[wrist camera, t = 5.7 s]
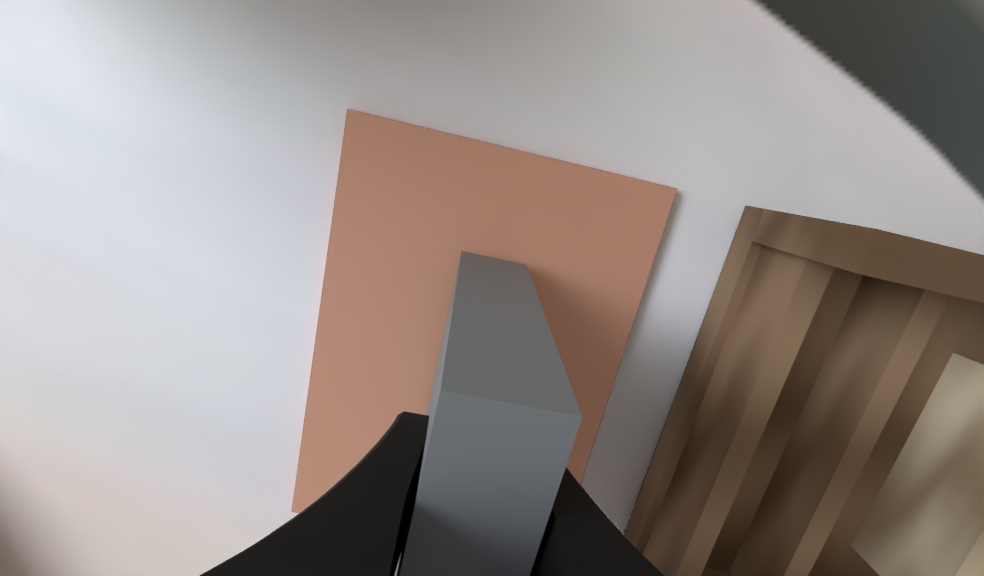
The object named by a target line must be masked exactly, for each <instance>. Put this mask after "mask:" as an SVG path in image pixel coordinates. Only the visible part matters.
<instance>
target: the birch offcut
mask: <svg viewBox="0 0 984 576" xmlns="http://www.w3.org/2000/svg"><path fill="white" fill-rule="evenodd" d="M851 547H852V548H853V549H854V550H855V551H856V552H857V553H858V554H859V555H860V556H861V557H862V558H863V559H864V560H865V561H866V562H867V563H868V564H869V565H870V566H871V567H872V568H873V569H874V570H875V571H876V573H877V574H878V575H879V576H984V359H981V358H976V357H971V356H967V355H962V354H958V353H953V354H952V356H951V358H950V360H949V362H948V363H947V365H946V367H945V369H944V371H943V373H942V375H941V377H940V379H939V380H938V382H937V384H936V386H935V388H934V390H933V392H932V394H931V396H930V397H929V399H928V401H927V403H926V405H925V407H924V409H923V411H922V413H921V414H920V416H919V418H918V420H917V422H916V424H915V426H914V428H913V430H912V431H911V433H910V435H909V437H908V439H907V441H906V443H905V445H904V447H903V448H902V450H901V452H900V454H899V456H898V458H897V460H896V462H895V464H894V465H893V467H892V469H891V471H890V473H889V475H888V477H887V479H886V481H885V482H884V484H883V486H882V488H881V490H880V492H879V494H878V496H877V498H876V499H875V501H874V503H873V505H872V507H871V509H870V511H869V513H868V515H867V517H866V518H865V520H864V522H863V524H862V526H861V528H860V530H859V532H858V534H857V535H856V537H855V539H854V541H853V543H852V545H851Z"/></svg>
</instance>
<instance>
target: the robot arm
mask: <svg viewBox="0 0 984 576" xmlns="http://www.w3.org/2000/svg"><path fill="white" fill-rule="evenodd" d="M428 421H429V416H427V415H422V414H416V413H411V412H405V411H403V412H402V413H400V414H398V415H397V417H396V419H395V421H394V422H393V423H392V425H391V426H390V428H389V429H388V430H387V432H386V433H385V434H384V435H383V436H382V438H381V439H380V440H379V441H378V442H377V443H376V445H375V446H374V447H373V448H372V449H371V450H370V451H369V452H368V453H367V454H366V455H365V456H364V457H363V459H362V460H361V461H360V462H359V463H358V464H357V465H356V466H355V467H354V468H352V469H351V470H350V471H349V472H348V473H347V474H346V475H345V476H344V477H343V478H342V479H341V480H340V481H338V482H337V483H336V484H335V485H334V486H333V487H332V488H331V489H329V490H328V491H327V492H326V493H325V494H324V495H322V496H321V497H320V498H319V499H317V500H316V501H315V502H314V503H312V504H311V505H310V506H308V507H307V508H306V509H305V510H303V511H302V512H301V513H299V514H298V515H297V516H295V517H294V518H292V519H291V520H290V521H288V522H287V523H285V524H284V525H282V526H281V527H279V528H278V529H276V530H275V531H274V532H272V533H271V534H269V535H268V536H266V537H265V538H263V539H262V540H260V541H259V542H257V543H255V544H254V545H252V546H251V547H249V548H247V549H246V550H244V551H242V552H241V553H239V554H237V555H235V556H234V557H232V558H230V559H228V560H226V561H225V562H223V563H221V564H219V565H218V566H216V567H214V568H212V569H211V570H209V571H207V572H205V573H203V574H202V575H200V576H394V575H395V572H396V568H397V565H398V561H399V558H400V554H401V551H402V546H403V542H404V537H405V532H406V528H407V523H408V519H409V514H410V509H411V505H412V500H413V496H414V491H415V486H416V482H417V477H418V473H419V468H420V464H421V459H422V454H423V450H424V445H425V441H426V435H427V428H428ZM530 576H664V575H663V574H662V573H661V572H660V571H659V570H658V569H657V568H656V567H655V566H654V565H653V564H652V563H651V562H650V561H649V560H648V559H646V558H645V557H644V556H643V555H642V554H641V553H640V552H639V551H638V550H637V549H636V548H635V547H634V546H633V545H632V544H631V543H630V542H629V541H628V540H627V539H626V538H625V536H624V535H623V534H622V533H621V532H620V531H619V530H618V529H617V528H616V527H615V525H614V524H613V523H612V522H611V521H610V520H609V519H608V518H607V517H606V515H605V514H604V513H603V512H602V511H601V510H600V508H599V507H598V506H597V505H596V504H595V503H594V501H593V500H592V499H591V498H590V497H589V495H588V494H587V493H586V492H585V490H584V489H583V488H582V487H581V485H580V484H579V483H578V482H577V480H576V479H575V478H574V476H573V475H572V474H571V473H570V471H569V470H568V469H567V467H566V468H565V471H564V474H563V477H562V480H561V483H560V486H559V489H558V492H557V495H556V498H555V501H554V504H553V507H552V510H551V513H550V516H549V519H548V522H547V525H546V528H545V531H544V534H543V537H542V540H541V543H540V546H539V549H538V552H537V555H536V558H535V561H534V564H533V567H532V570H531V573H530Z"/></svg>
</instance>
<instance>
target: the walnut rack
mask: <svg viewBox="0 0 984 576" xmlns="http://www.w3.org/2000/svg"><path fill="white" fill-rule="evenodd" d="M953 353H958V354H962V355H967V356H971V357H976V358H981V359H984V255H981V254H976V253H972V252H968V251H964V250H960V249H956V248H952V247H948V246H944V245H940V244H935V243H931V242H927V241H923V240H919V239H915V238H911V237H907V236H903V235H898V234H894V233H890V232H886V231H882V230H878V229H873V228H867V227H862V226H856V225H850V224H845V223H839V222H834V221H828V220H823V219H817V218H811V217H806V216H800V215H795V214H789V213H784V212H778V211H772V210H767V209H761V208H756V207H750V206H745V209H744V212H743V214H742V217H741V220H740V223H739V225H738V228H737V231H736V233H735V236H734V239H733V241H732V244H731V247H730V250H729V252H728V255H727V258H726V260H725V263H724V266H723V269H722V271H721V274H720V277H719V279H718V282H717V285H716V287H715V290H714V293H713V296H712V298H711V301H710V304H709V306H708V309H707V312H706V315H705V317H704V320H703V323H702V325H701V328H700V331H699V334H698V336H697V339H696V342H695V344H694V347H693V350H692V352H691V355H690V358H689V361H688V363H687V366H686V369H685V371H684V374H683V377H682V380H681V382H680V385H679V388H678V390H677V393H676V396H675V398H674V401H673V404H672V407H671V409H670V412H669V415H668V417H667V420H666V423H665V426H664V428H663V431H662V434H661V436H660V439H659V442H658V444H657V447H656V450H655V453H654V455H653V458H652V461H651V463H650V466H649V469H648V472H647V474H646V477H645V480H644V482H643V485H642V488H641V491H640V493H639V496H638V499H637V501H636V504H635V507H634V509H633V512H632V515H631V518H630V520H629V523H628V526H627V528H626V531H625V534H624V536H625V538H626V539H627V540H628V541H629V542H630V543H631V544H632V545H633V546H634V547H635V548H636V549H637V550H638V551H639V552H640V553H641V554H642V555H643V556H644V557H645V558H646V559H648V560H649V561H650V562H651V563H652V564H653V565H654V566H655V567H656V568H657V569H658V570H659V571H660V572H661V573H662V574H663V575H664V576H879V575H878V574H877V573H876V571H875V570H874V569H873V568H872V567H871V566H870V565H869V564H868V563H867V562H866V561H865V560H864V559H863V558H862V557H861V556H860V555H859V554H858V553H857V552H856V551H855V550H854V549H853V548H852V547H851V545H852V543H853V541H854V539H855V537H856V535H857V534H858V532H859V530H860V528H861V526H862V524H863V522H864V520H865V518H866V517H867V515H868V513H869V511H870V509H871V507H872V505H873V503H874V501H875V499H876V498H877V496H878V494H879V492H880V490H881V488H882V486H883V484H884V482H885V481H886V479H887V477H888V475H889V473H890V471H891V469H892V467H893V465H894V464H895V462H896V460H897V458H898V456H899V454H900V452H901V450H902V448H903V447H904V445H905V443H906V441H907V439H908V437H909V435H910V433H911V431H912V430H913V428H914V426H915V424H916V422H917V420H918V418H919V416H920V414H921V413H922V411H923V409H924V407H925V405H926V403H927V401H928V399H929V397H930V396H931V394H932V392H933V390H934V388H935V386H936V384H937V382H938V380H939V379H940V377H941V375H942V373H943V371H944V369H945V367H946V365H947V363H948V362H949V360H950V358H951V356H952V354H953Z"/></svg>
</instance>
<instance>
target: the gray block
mask: <svg viewBox="0 0 984 576" xmlns="http://www.w3.org/2000/svg"><path fill="white" fill-rule="evenodd" d="M426 415H427V416H429V421H428V428H427V435H426V441H425V445H424V450H423V454H422V459H421V464H420V468H419V473H418V477H417V482H416V486H415V491H414V496H413V500H412V505H411V509H410V514H409V519H408V523H407V528H406V532H405V537H404V542H403V546H402V551H401V554H400V558H399V561H398V565H397V568H396V572H395V575H394V576H530V573H531V570H532V567H533V564H534V561H535V558H536V555H537V552H538V549H539V546H540V543H541V540H542V537H543V534H544V531H545V528H546V525H547V522H548V519H549V516H550V513H551V510H552V507H553V504H554V501H555V498H556V495H557V492H558V489H559V486H560V483H561V480H562V477H563V474H564V471H565V468H566V465H567V462H568V459H569V456H570V453H571V450H572V447H573V444H574V441H575V438H576V435H577V432H578V429H579V426H580V423H581V420H582V414H581V411H580V409H579V406H578V403H577V400H576V398H575V395H574V392H573V390H572V387H571V384H570V382H569V379H568V376H567V373H566V371H565V368H564V365H563V363H562V360H561V357H560V355H559V352H558V349H557V346H556V344H555V341H554V338H553V336H552V333H551V330H550V328H549V325H548V322H547V319H546V317H545V314H544V311H543V309H542V306H541V303H540V300H539V298H538V295H537V292H536V290H535V287H534V284H533V282H532V279H531V276H530V273H529V271H528V268H527V265H525V264H520V263H516V262H511V261H506V260H502V259H497V258H492V257H488V256H483V255H479V254H474V253H469V252H465V251H461V255H460V260H459V264H458V269H457V274H456V278H455V283H454V288H453V292H452V297H451V301H450V306H449V311H448V315H447V320H446V325H445V329H444V334H443V339H442V343H441V348H440V353H439V357H438V362H437V367H436V371H435V376H434V381H433V385H432V390H431V394H430V399H429V404H428V408H427V413H426Z"/></svg>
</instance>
